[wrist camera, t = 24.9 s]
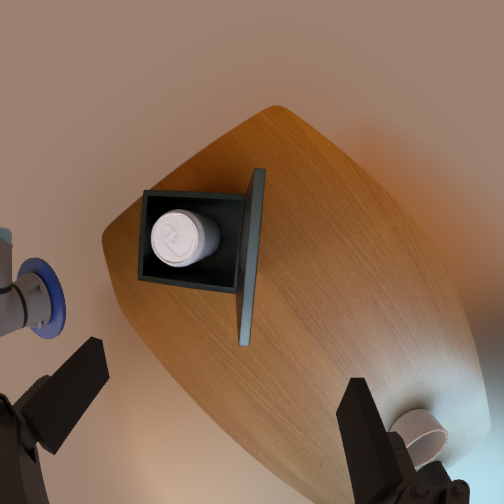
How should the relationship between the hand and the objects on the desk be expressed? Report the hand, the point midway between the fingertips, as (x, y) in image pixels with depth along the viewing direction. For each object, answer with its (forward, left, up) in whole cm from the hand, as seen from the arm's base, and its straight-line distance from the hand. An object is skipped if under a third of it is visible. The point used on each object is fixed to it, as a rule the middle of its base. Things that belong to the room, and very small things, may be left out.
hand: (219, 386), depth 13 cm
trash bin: (-10, +6, -36) cm, 38 cm away
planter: (+38, -33, -36) cm, 63 cm away
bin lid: (-1, +6, -14) cm, 15 cm away
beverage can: (-12, +6, -36) cm, 38 cm away
